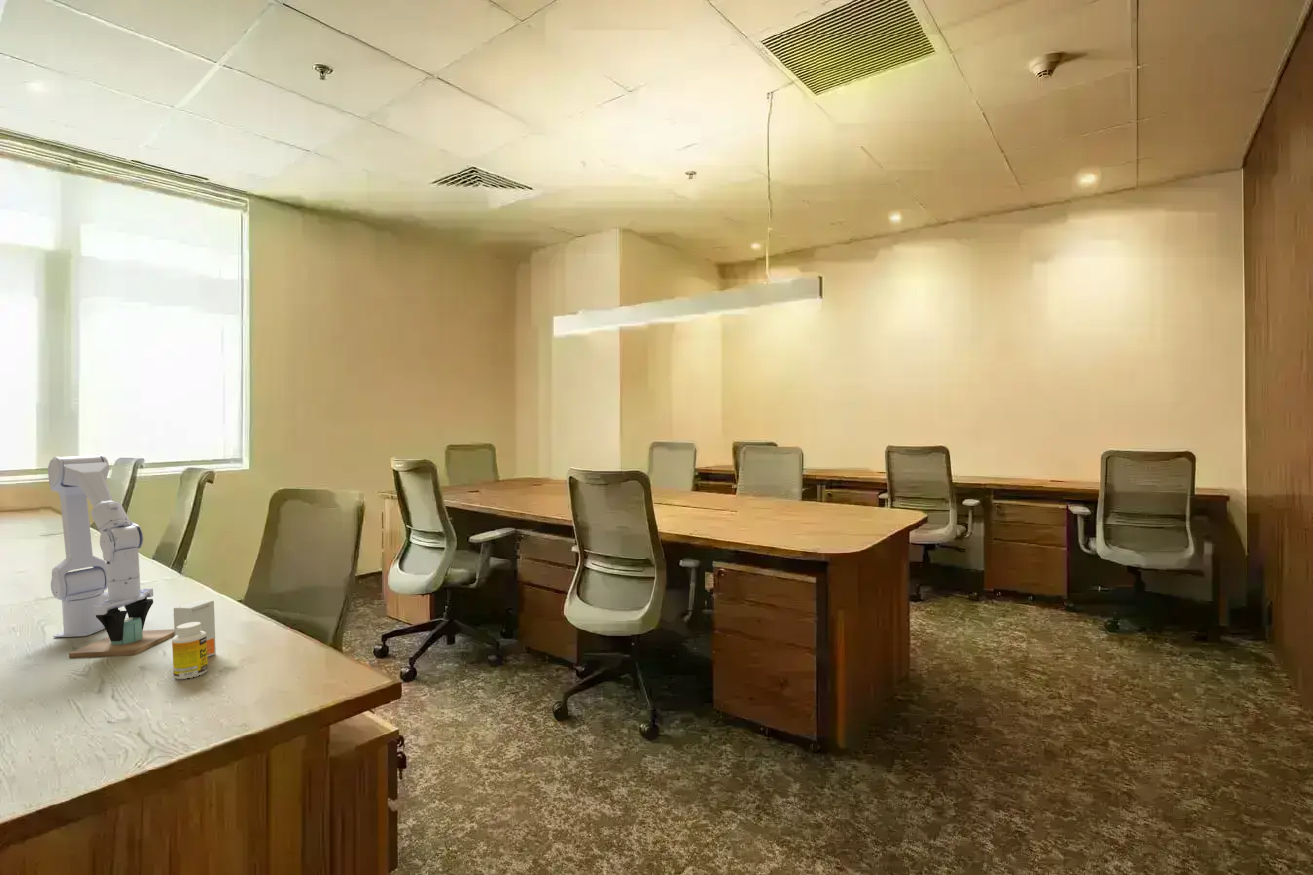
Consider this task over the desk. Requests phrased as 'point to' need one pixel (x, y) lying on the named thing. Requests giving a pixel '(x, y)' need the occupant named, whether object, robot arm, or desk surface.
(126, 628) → the cap
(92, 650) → the post fixture
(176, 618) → the skincare box
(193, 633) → the supplement bottle
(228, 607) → the desk surface
